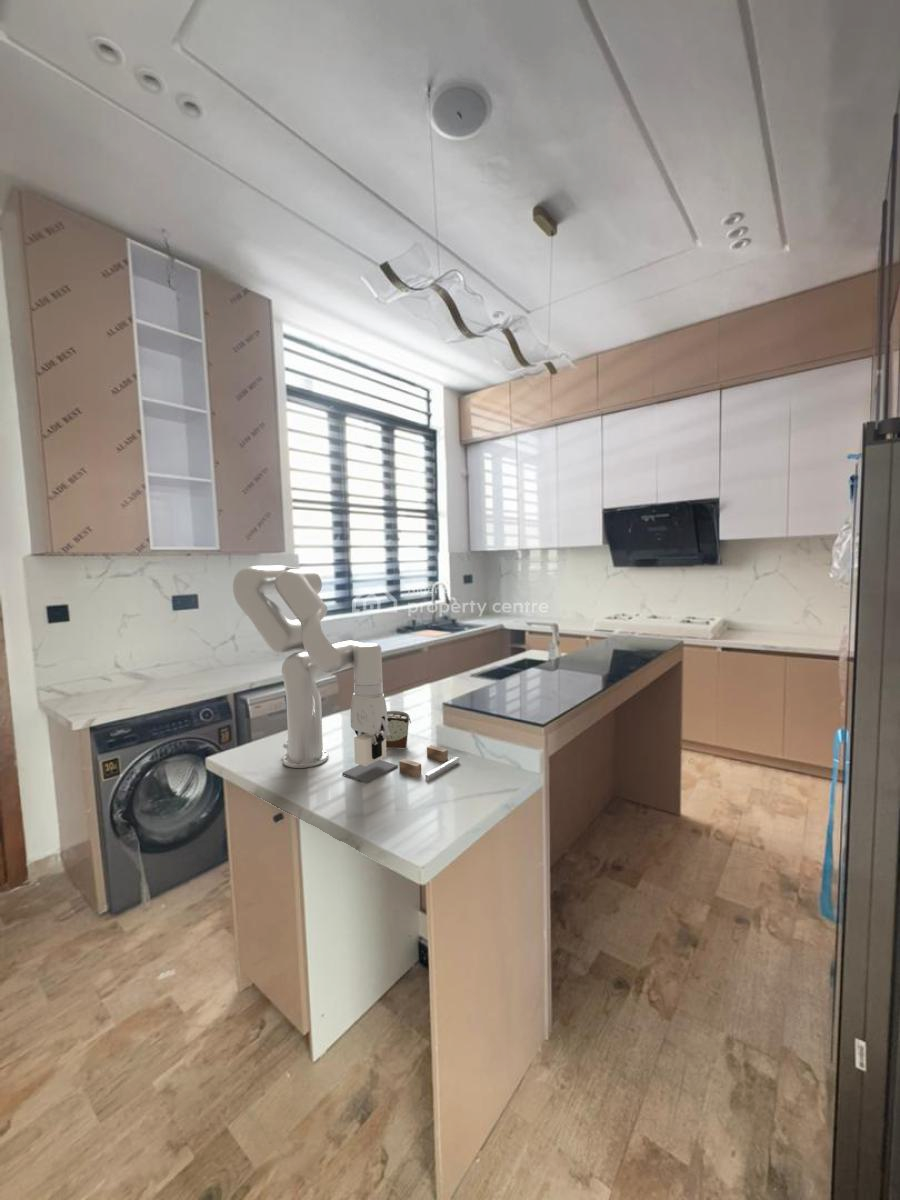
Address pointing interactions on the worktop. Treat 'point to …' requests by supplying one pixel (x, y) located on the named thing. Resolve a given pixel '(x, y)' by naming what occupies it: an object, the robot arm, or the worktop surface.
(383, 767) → the mat
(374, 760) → the cream cuboid
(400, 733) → the food container
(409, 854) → the worktop surface
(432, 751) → the blocks
